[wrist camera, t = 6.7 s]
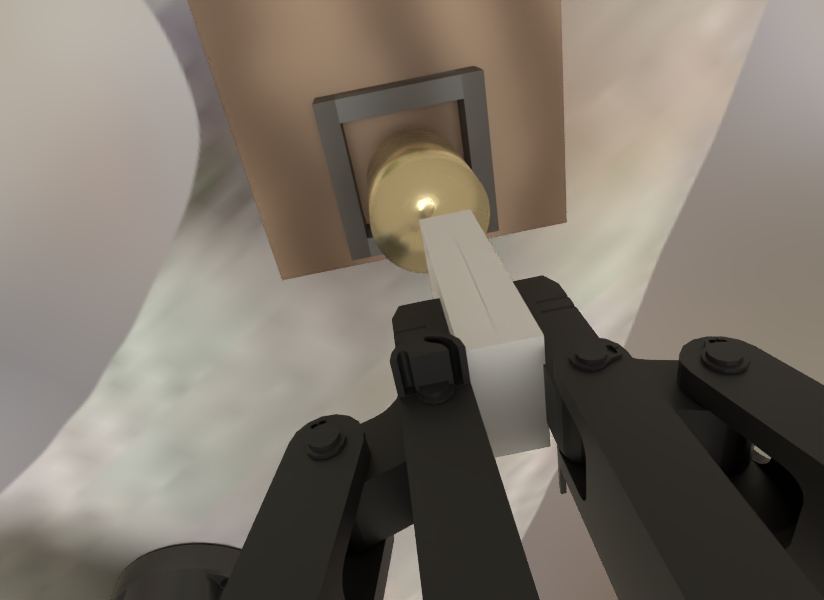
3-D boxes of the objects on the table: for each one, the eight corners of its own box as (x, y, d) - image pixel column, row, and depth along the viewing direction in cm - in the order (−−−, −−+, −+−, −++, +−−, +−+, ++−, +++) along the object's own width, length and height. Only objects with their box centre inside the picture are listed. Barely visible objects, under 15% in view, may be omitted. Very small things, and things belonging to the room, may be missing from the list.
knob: (377, 234, 24) (383, 283, 20) (356, 140, 22) (357, 172, 18) (469, 216, 24) (495, 260, 20) (457, 120, 22) (483, 146, 18)
